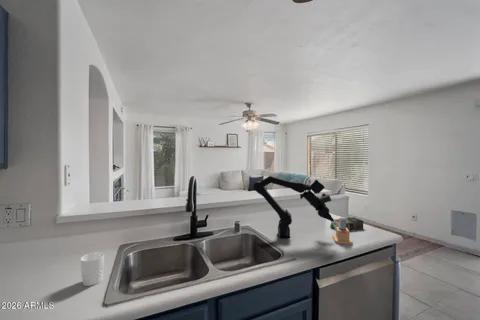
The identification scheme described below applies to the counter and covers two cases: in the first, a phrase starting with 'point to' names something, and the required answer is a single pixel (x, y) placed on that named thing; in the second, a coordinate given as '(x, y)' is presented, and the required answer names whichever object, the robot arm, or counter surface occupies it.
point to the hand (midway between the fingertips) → (332, 218)
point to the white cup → (92, 268)
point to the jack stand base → (342, 237)
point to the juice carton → (349, 224)
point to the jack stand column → (342, 224)
